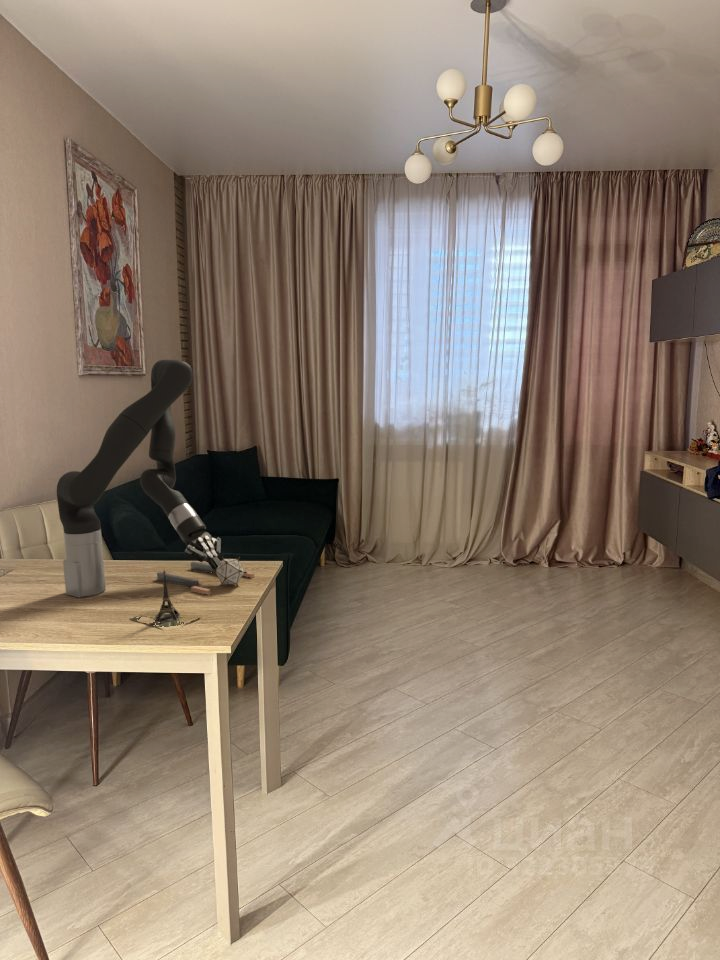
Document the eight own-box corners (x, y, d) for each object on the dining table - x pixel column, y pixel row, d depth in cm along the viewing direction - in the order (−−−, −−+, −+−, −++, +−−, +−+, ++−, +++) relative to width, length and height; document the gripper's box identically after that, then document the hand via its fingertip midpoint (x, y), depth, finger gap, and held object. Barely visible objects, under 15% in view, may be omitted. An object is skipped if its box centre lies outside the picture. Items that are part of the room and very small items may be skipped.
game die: (237, 596, 178) (256, 566, 180) (227, 595, 170) (248, 563, 171) (212, 579, 180) (232, 549, 181) (201, 577, 172) (222, 546, 173)
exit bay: (207, 595, 168) (206, 590, 168) (191, 591, 172) (191, 587, 171) (254, 577, 183) (254, 573, 183) (239, 574, 187) (239, 570, 187)
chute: (195, 588, 174) (195, 581, 174) (157, 579, 183) (156, 573, 182) (231, 575, 185) (231, 569, 185) (194, 567, 194) (193, 561, 194)
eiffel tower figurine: (127, 621, 152) (123, 567, 150) (162, 608, 160) (158, 557, 158) (169, 633, 143) (165, 577, 141) (202, 619, 152) (199, 566, 150)
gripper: (174, 519, 175) (208, 567, 171) (209, 510, 186) (242, 556, 182) (163, 535, 179) (195, 583, 174) (198, 526, 190) (229, 571, 185)
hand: (219, 569), depth 178 cm, fingers closed
